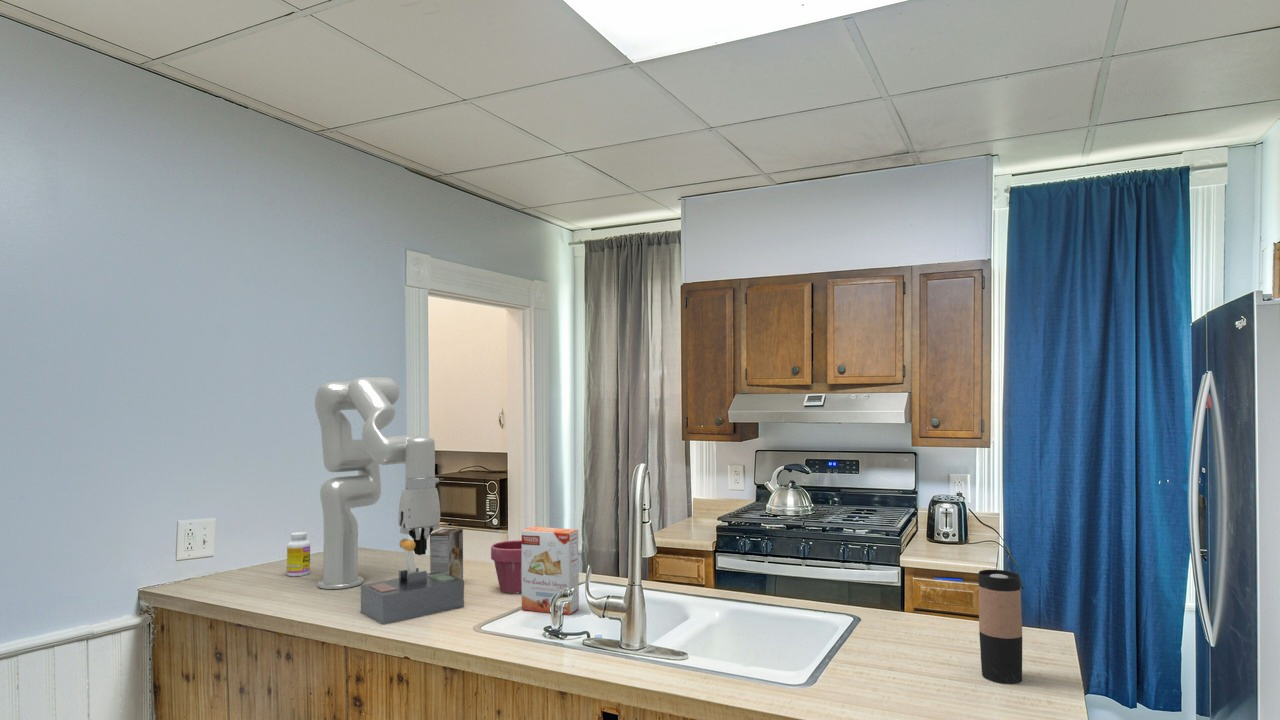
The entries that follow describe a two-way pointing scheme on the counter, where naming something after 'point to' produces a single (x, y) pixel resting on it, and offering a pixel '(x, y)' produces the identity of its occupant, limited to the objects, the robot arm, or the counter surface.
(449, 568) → the coffee box
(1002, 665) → the travel mug
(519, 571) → the plant pot
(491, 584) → the counter surface
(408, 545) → the breaker lever
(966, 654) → the counter surface
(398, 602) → the breaker box
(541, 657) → the counter surface
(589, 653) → the counter surface
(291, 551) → the supplement bottle
